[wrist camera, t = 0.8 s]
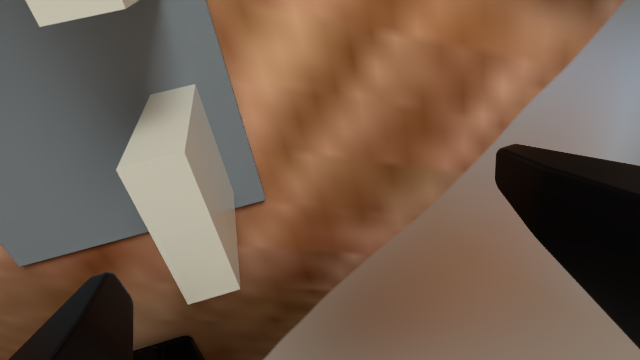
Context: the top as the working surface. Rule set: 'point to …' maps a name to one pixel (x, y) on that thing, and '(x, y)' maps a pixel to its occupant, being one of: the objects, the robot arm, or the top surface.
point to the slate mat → (99, 118)
